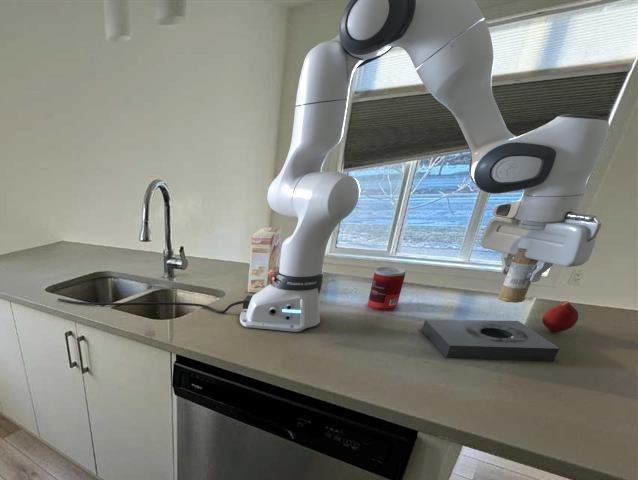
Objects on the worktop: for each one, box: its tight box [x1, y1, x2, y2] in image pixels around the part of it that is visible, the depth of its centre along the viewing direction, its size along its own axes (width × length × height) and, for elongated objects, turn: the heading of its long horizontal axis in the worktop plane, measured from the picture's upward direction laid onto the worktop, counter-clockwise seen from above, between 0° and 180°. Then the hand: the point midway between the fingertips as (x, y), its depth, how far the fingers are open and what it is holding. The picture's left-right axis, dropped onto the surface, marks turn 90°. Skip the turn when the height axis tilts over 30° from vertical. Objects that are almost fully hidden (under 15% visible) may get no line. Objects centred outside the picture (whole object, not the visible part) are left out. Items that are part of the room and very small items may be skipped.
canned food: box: [367, 266, 407, 312], centre depth 119 cm, size 8×8×11 cm
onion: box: [542, 300, 579, 334], centre depth 97 cm, size 6×6×8 cm
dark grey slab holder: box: [421, 319, 560, 362], centre depth 96 cm, size 20×16×3 cm
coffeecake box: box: [247, 227, 283, 294], centre depth 142 cm, size 15×7×20 cm, turn 149°
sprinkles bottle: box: [497, 239, 538, 304], centre depth 87 cm, size 5×5×13 cm
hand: (518, 277), depth 88 cm, fingers closed on sprinkles bottle, 4 cm apart
